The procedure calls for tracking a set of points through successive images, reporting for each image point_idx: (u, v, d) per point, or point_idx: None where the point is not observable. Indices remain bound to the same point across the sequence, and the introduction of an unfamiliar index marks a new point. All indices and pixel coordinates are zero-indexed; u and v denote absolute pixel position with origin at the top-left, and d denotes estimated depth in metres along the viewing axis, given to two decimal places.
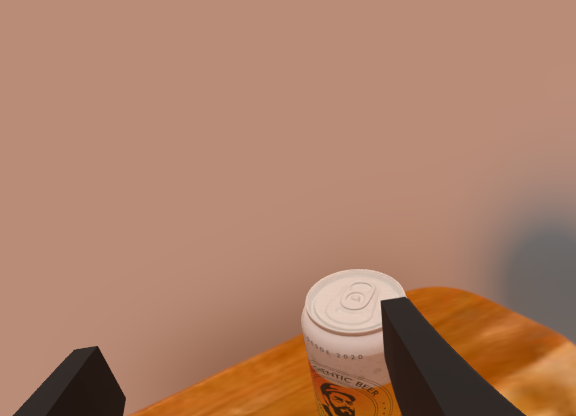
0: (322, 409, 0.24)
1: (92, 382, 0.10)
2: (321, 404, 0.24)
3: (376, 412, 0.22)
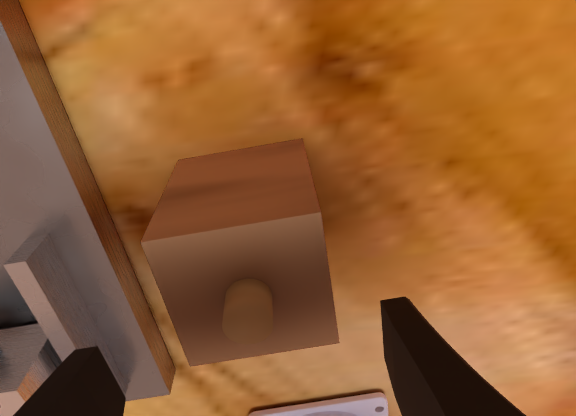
0: None
1: (92, 382, 0.10)
2: None
3: None
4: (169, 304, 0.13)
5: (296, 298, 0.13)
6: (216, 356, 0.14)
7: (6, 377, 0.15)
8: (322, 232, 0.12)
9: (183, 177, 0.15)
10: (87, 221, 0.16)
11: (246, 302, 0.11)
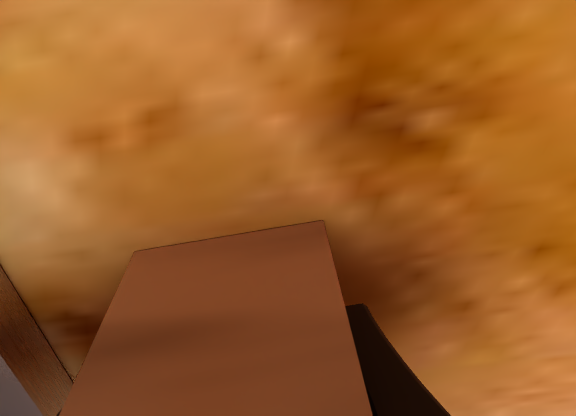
0: None
1: None
2: None
3: None
4: None
5: None
6: None
7: None
8: None
9: (134, 299, 0.09)
10: None
11: None
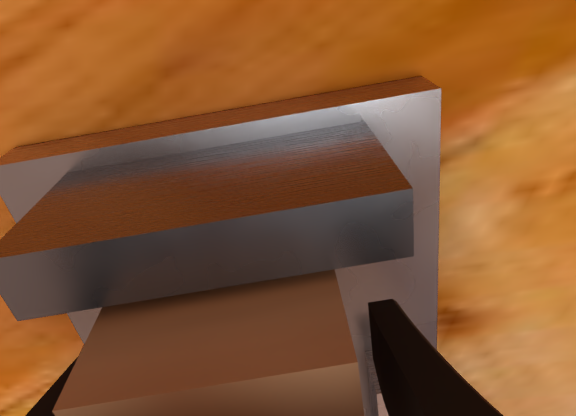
0: None
1: None
2: None
3: None
4: None
5: None
6: None
7: None
8: (358, 389, 0.07)
9: None
10: (432, 335, 0.15)
11: None
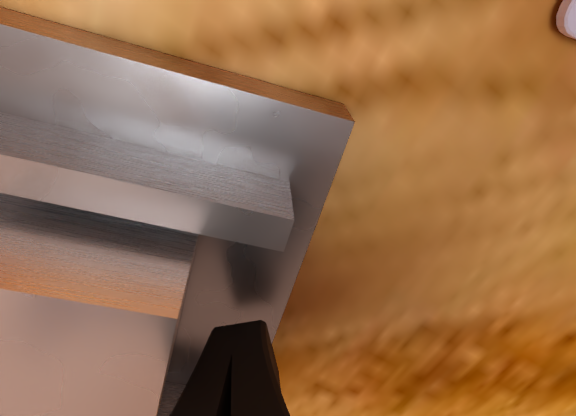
0: None
1: None
2: None
3: None
4: None
5: None
6: None
7: None
8: None
9: None
10: None
11: None
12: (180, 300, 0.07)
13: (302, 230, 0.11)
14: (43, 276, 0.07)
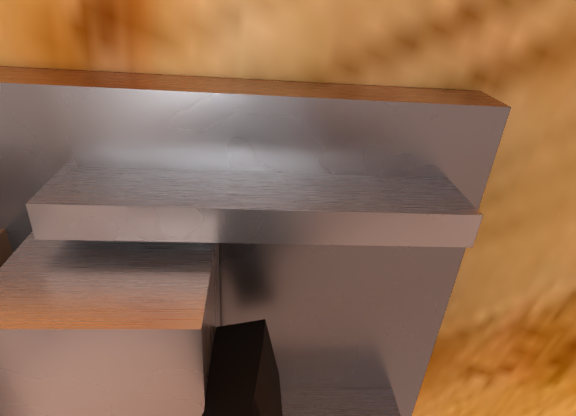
0: None
1: (268, 354, 0.10)
2: None
3: None
4: None
5: None
6: None
7: None
8: None
9: None
10: (36, 91, 0.09)
11: None
12: (202, 310, 0.07)
13: None
14: (70, 310, 0.07)
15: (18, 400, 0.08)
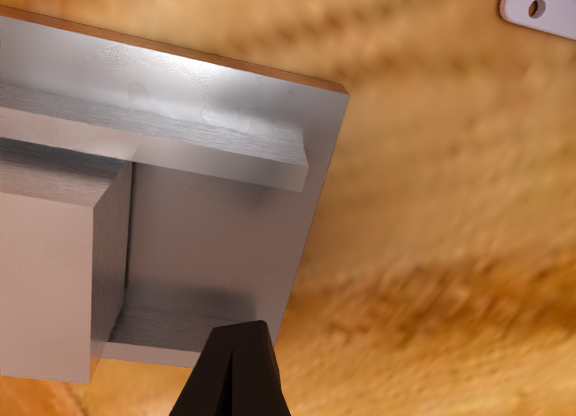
0: None
1: None
2: None
3: None
4: None
5: None
6: None
7: None
8: None
9: None
10: None
11: None
12: (98, 198, 0.10)
13: (314, 183, 0.14)
14: None
15: None
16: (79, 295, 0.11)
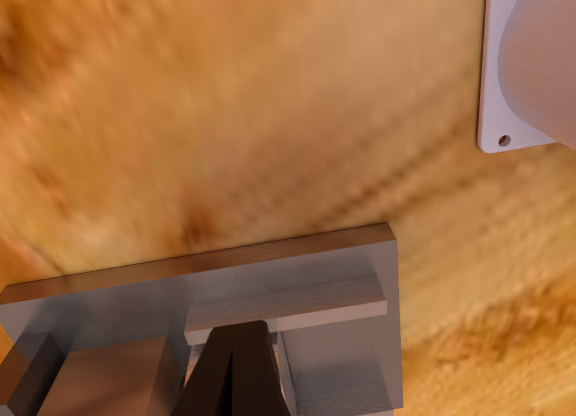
0: None
1: None
2: None
3: None
4: None
5: None
6: None
7: None
8: None
9: None
10: (175, 278, 0.19)
11: None
12: (278, 366, 0.18)
13: (392, 292, 0.20)
14: None
15: None
16: None
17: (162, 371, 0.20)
